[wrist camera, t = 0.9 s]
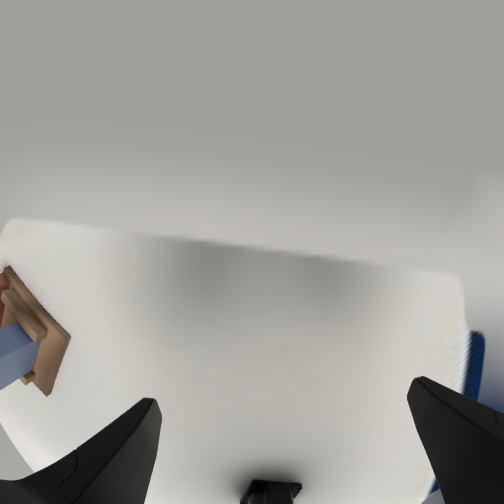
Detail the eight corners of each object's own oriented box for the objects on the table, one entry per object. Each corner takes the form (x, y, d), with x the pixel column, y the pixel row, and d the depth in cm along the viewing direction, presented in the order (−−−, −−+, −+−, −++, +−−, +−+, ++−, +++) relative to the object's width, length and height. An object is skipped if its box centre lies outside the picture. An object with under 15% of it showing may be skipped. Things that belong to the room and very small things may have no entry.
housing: (71, 337, 22) (43, 353, 17) (50, 393, 23) (29, 410, 18) (10, 266, 22) (-19, 270, 17) (-4, 329, 22) (-27, 338, 18)
